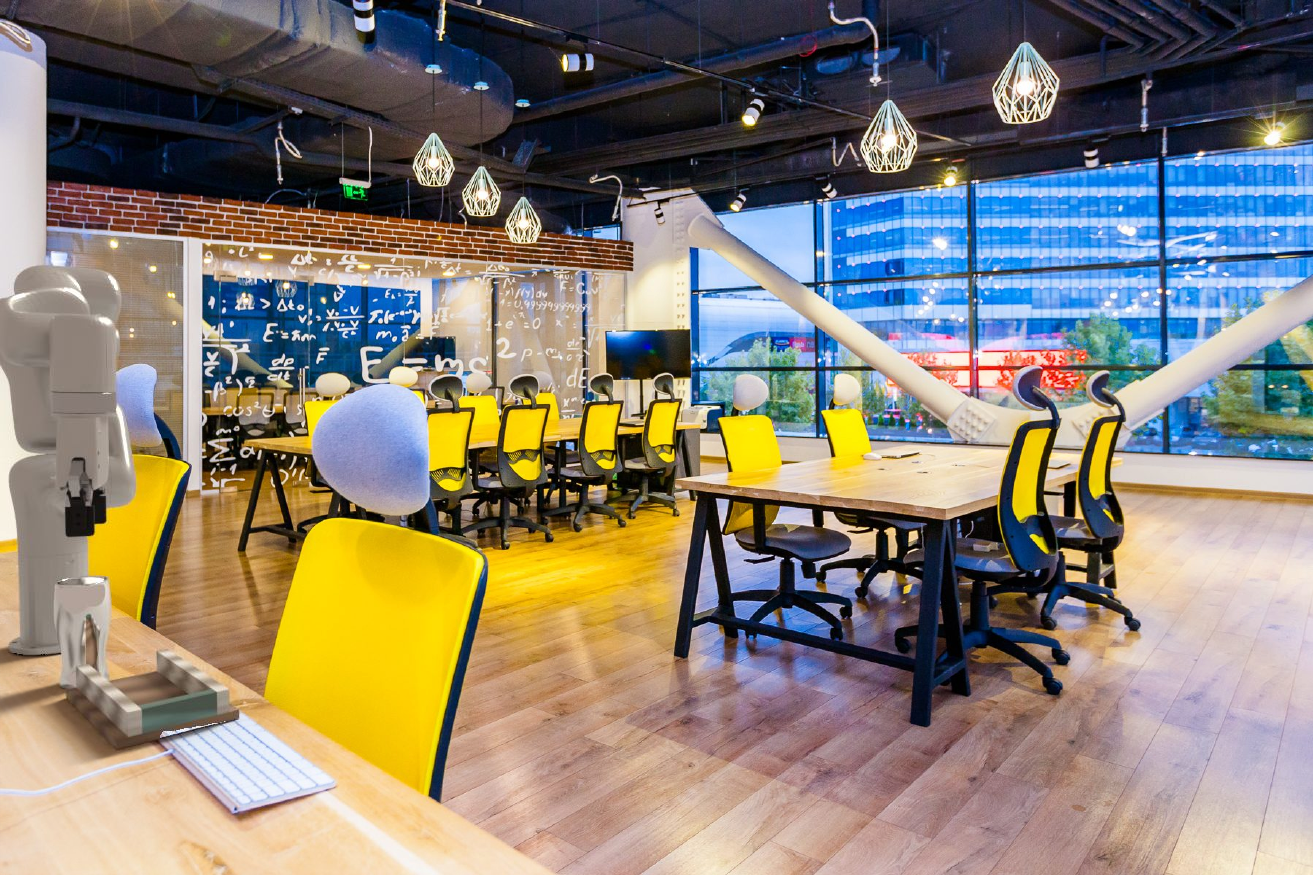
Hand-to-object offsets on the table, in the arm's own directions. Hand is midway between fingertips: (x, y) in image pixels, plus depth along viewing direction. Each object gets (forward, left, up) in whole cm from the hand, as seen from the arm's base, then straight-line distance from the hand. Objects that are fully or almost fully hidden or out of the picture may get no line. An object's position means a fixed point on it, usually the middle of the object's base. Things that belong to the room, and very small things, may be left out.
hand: (87, 529), depth 119 cm
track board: (+5, +11, -23) cm, 26 cm away
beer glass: (-5, -4, -24) cm, 24 cm away
